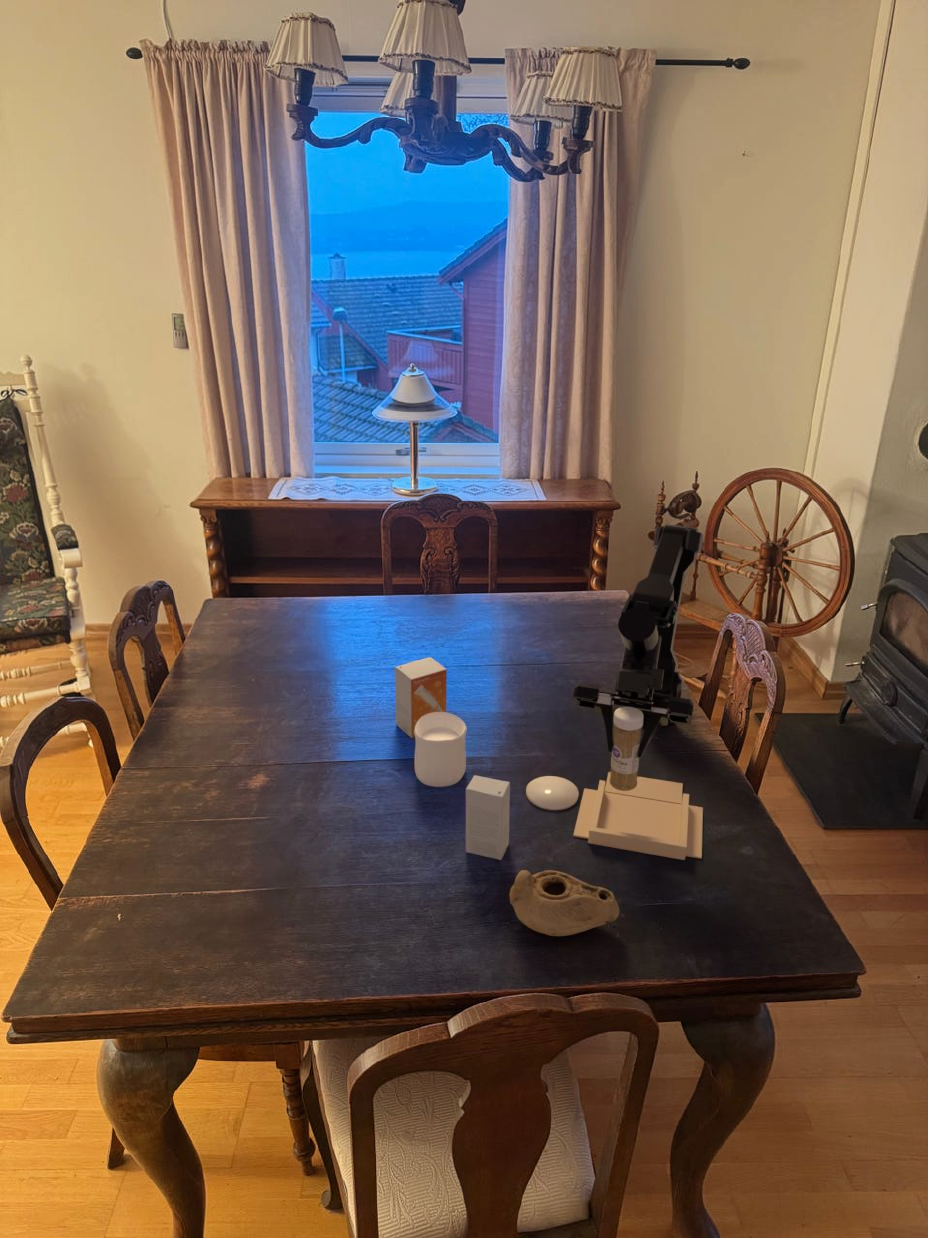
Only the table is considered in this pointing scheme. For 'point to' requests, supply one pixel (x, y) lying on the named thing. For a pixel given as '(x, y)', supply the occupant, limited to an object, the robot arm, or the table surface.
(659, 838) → the carton
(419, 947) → the table surface
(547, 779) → the coaster
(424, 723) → the cup
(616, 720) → the sprinkles bottle
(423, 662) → the small box
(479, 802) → the skincare box
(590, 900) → the oil lamp
